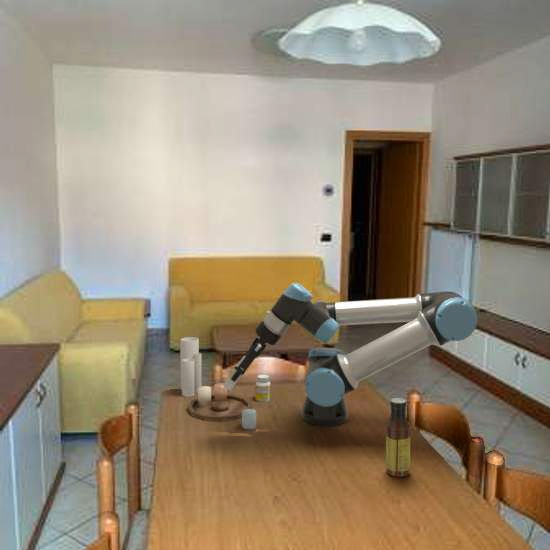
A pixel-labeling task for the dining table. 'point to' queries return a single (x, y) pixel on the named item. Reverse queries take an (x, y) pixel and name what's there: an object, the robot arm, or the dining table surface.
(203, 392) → the seated bead cream
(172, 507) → the dining table surface
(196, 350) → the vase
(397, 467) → the sauce bottle
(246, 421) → the loose bead
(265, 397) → the supplement bottle
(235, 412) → the tray
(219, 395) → the seated bead terracotta
